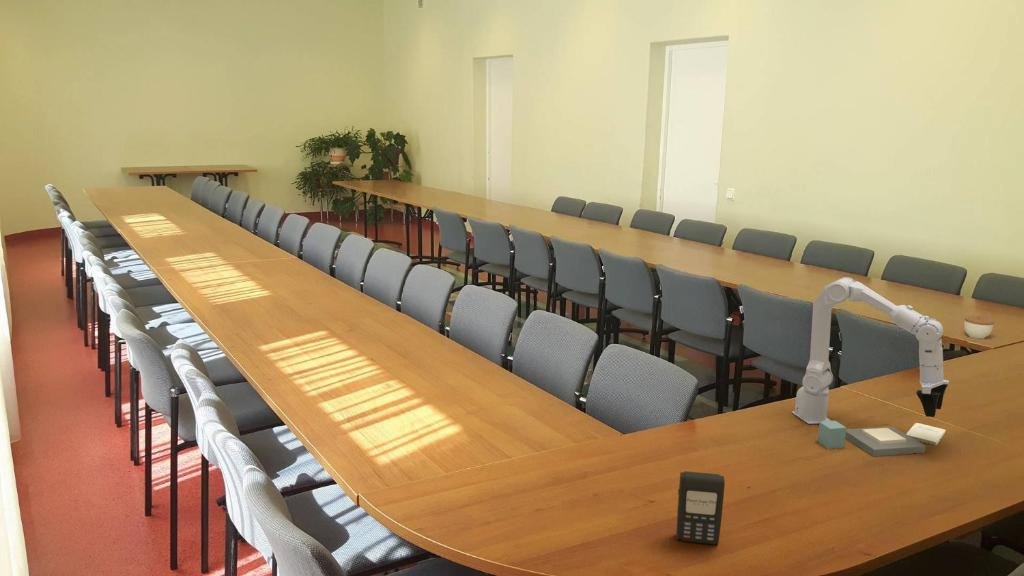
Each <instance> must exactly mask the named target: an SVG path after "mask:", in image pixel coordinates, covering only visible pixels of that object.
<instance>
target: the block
mask: <svg viewBox="0 0 1024 576" xmlns="http://www.w3.org/2000/svg"><path fill="white" fill-rule="evenodd" d="M846 429H847V427H846V426H845V425H843V424H841V423H840V422H838V421H836V420H831V421H825V422H820V423H819V425H818V432H817V440H816V441H818V442H817V443H819V444H820V445H821V444H822V445H821V446H823V448H825V449H827V450H832V449H833V448H835V449H844V448H845V442H846V438H845V435H846ZM833 450H834V449H833Z"/></svg>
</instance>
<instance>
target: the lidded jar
mask: <svg viewBox="0 0 1024 576" xmlns="http://www.w3.org/2000/svg"><path fill="white" fill-rule="evenodd" d="M994 323H995V321H994V320H993V319H991V318H988V317H985V316H984V317H983V316H982V315H981V314H979V315H978V316H977V315H976V316H975V315H974V316H973V315H969V316H965V317H964V331H965V332H966V334H967V336H969V337H970V338H972V339H979V340H980V339H986V337H988V336H990V334H991V333H992V331H993V327H994Z"/></svg>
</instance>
